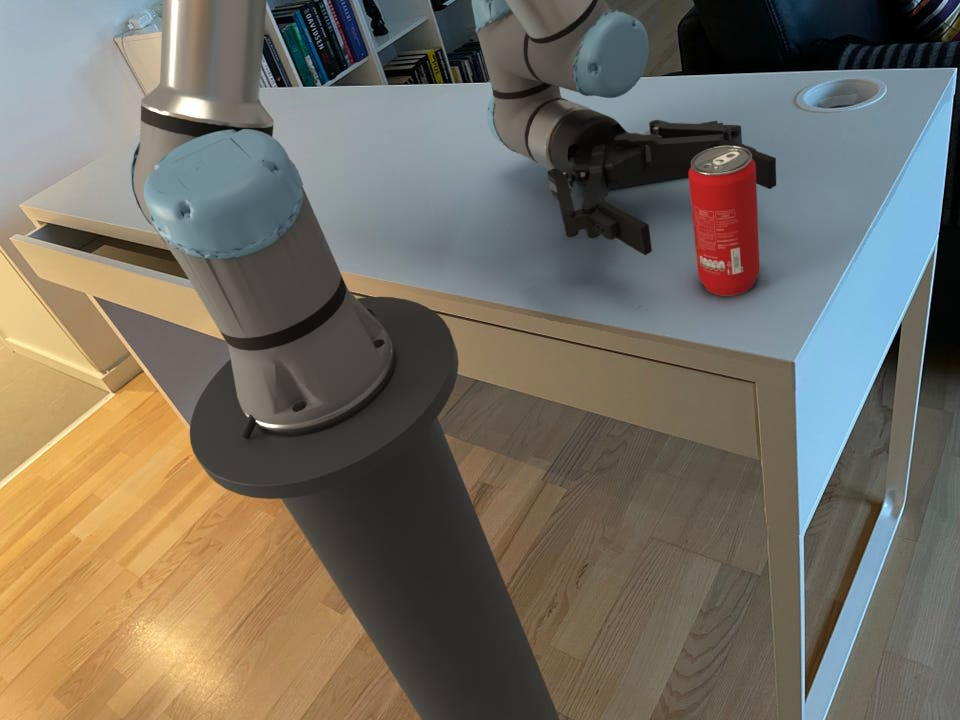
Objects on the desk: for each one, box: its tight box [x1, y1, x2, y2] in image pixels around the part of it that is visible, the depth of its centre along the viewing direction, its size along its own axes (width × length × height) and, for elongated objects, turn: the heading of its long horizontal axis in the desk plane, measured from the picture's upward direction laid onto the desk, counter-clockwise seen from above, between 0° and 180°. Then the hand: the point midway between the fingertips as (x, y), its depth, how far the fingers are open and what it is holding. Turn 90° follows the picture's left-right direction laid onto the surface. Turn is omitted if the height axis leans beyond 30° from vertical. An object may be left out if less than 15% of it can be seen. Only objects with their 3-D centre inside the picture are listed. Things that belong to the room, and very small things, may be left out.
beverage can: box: [688, 146, 761, 297], centre depth 65 cm, size 5×5×12 cm
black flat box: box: [583, 120, 724, 192], centre depth 88 cm, size 16×8×2 cm, turn 82°
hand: (711, 206), depth 66 cm, fingers open, 13 cm apart
